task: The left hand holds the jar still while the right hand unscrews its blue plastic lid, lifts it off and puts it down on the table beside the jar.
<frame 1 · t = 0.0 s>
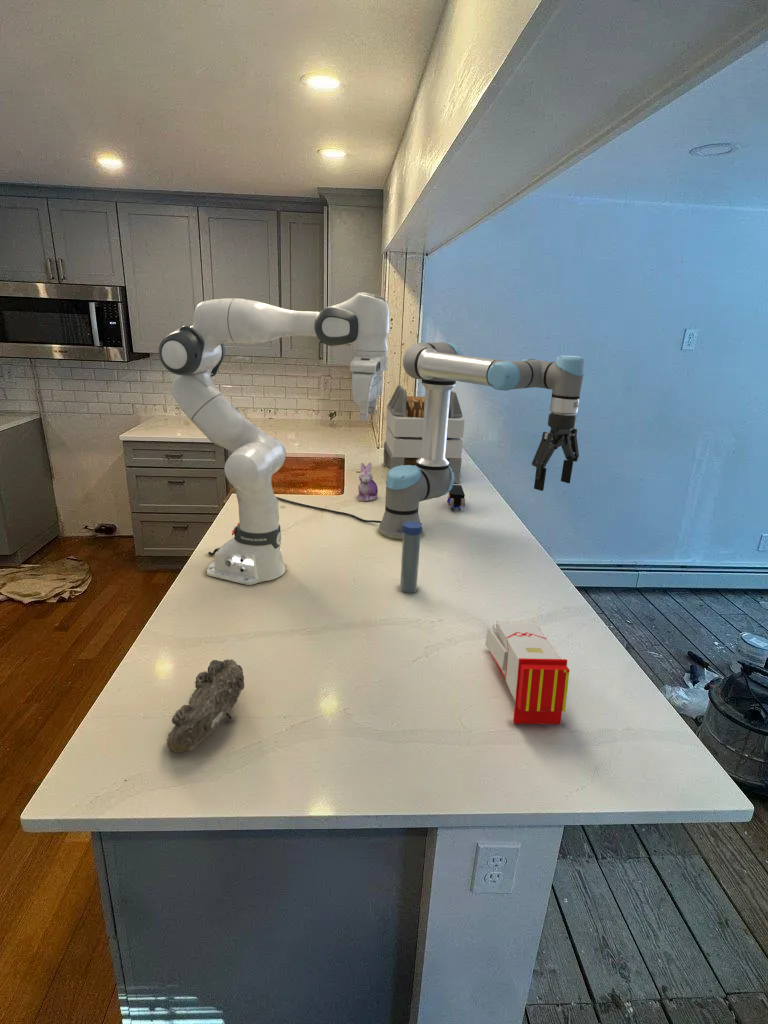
left hand: (368, 417, 147), 48 cm above the counter, tool pointing down, fingers open, 8 cm apart
right hand: (552, 485, 166), 28 cm above the counter, tool pointing down, fingers open, 13 cm apart
lid: (412, 525, 154), point 19 cm above the counter, screwed on, not yet turned
transformer: (419, 473, 275), on the counter
toy: (518, 681, 123), on the counter
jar: (408, 589, 161), on the counter
figurine: (367, 498, 235), on the counter
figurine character: (454, 506, 230), on the counter
fossil: (212, 717, 108), on the counter
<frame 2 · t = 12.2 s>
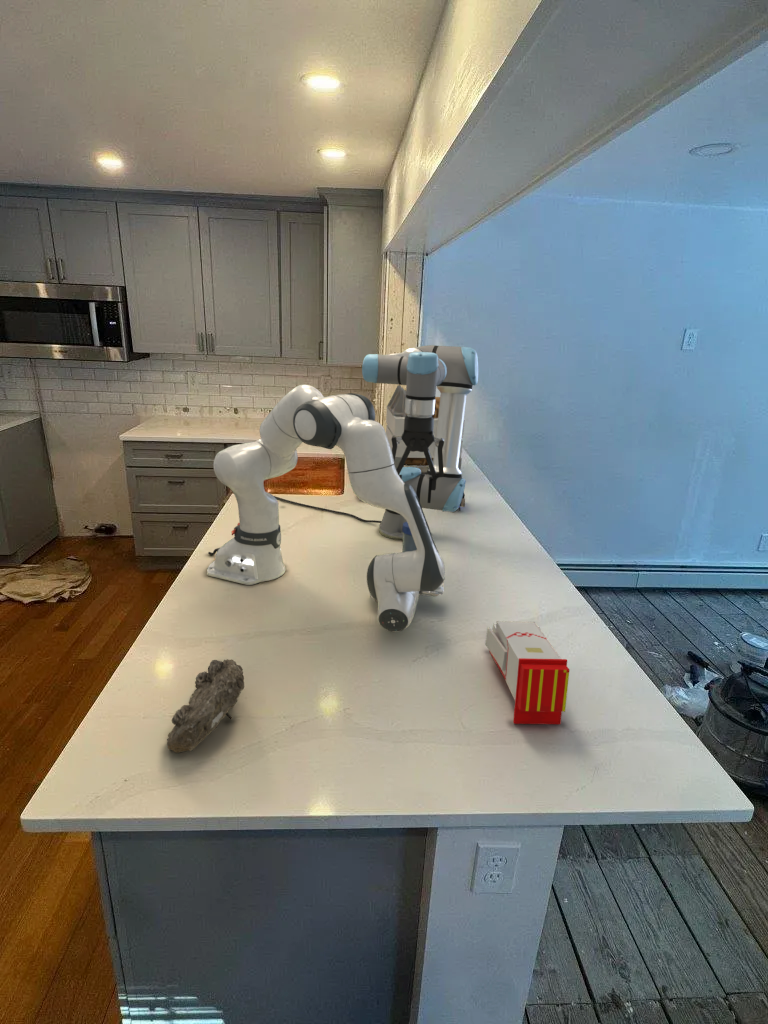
left hand: (409, 568, 160), 6 cm above the counter, tool horizontal, fingers closed on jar, 5 cm apart
right hand: (413, 500, 152), 27 cm above the counter, tool pointing down, fingers open, 7 cm apart
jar: (408, 589, 161), on the counter, touching left hand
everything else where it was.
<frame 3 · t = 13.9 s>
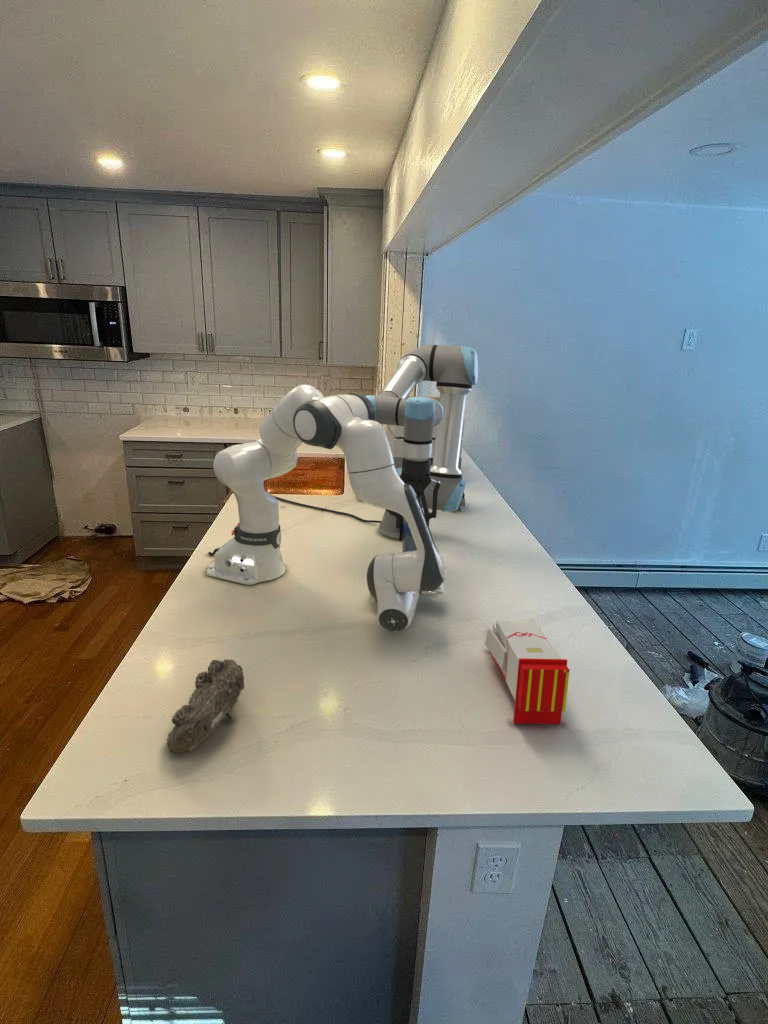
left hand: (409, 568, 160), 6 cm above the counter, tool horizontal, fingers closed on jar, 5 cm apart
right hand: (411, 539, 156), 15 cm above the counter, tool pointing down, fingers closed on lid, 5 cm apart
lid: (412, 525, 154), point 19 cm above the counter, screwed on, not yet turned, touching right hand
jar: (408, 589, 161), on the counter, touching left hand
everything else where it was.
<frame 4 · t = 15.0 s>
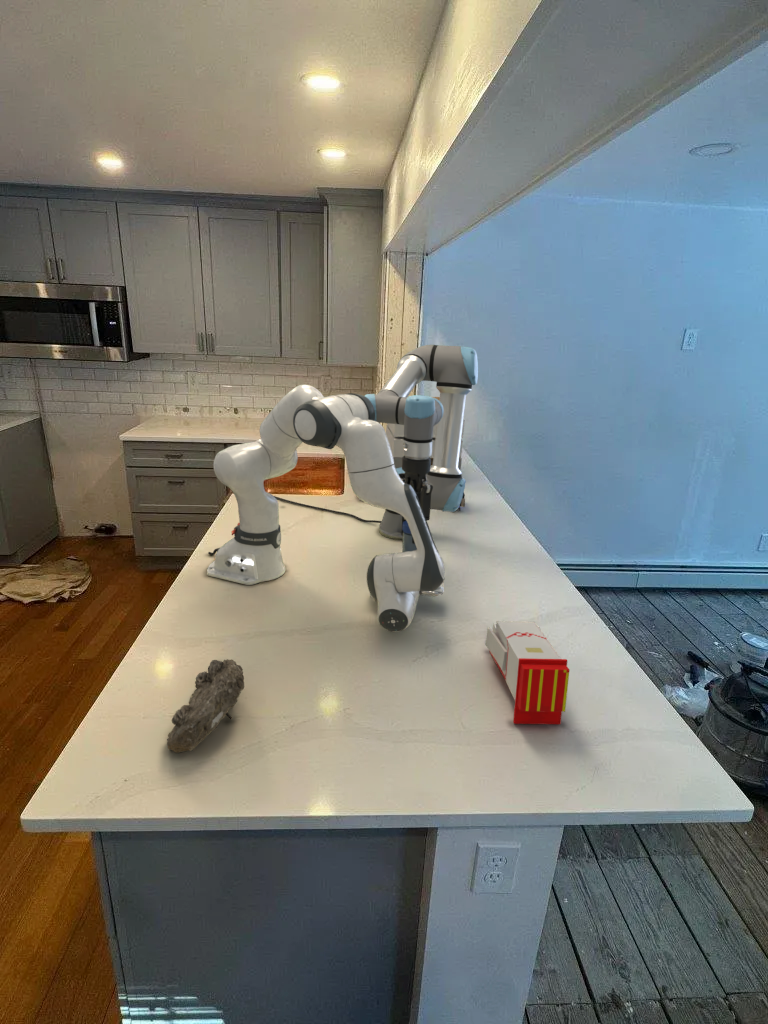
left hand: (409, 568, 160), 6 cm above the counter, tool horizontal, fingers closed on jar, 5 cm apart
right hand: (411, 538, 156), 16 cm above the counter, tool pointing down, fingers closed on lid, 5 cm apart
lid: (412, 524, 154), point 20 cm above the counter, off its thread, touching right hand
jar: (408, 589, 161), on the counter, touching left hand
everything else where it was.
when the right hand's fingers open (0 cm above the counter, at t = 20.8 s): lid drops 3 cm, point 2 cm above the counter.
when the left hand's fingers open (6 cm above the counter, at t = 21.4 s): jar stays where it is, on the counter.
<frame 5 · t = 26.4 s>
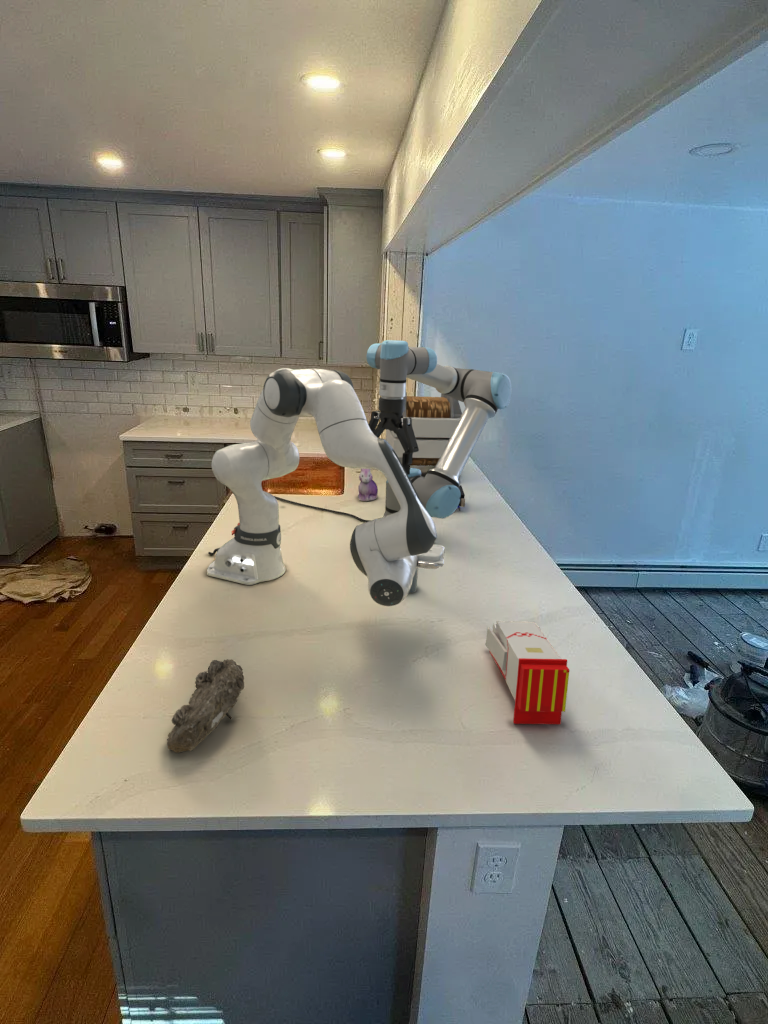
left hand: (406, 540, 144), 20 cm above the counter, tool horizontal, fingers open, 8 cm apart
right hand: (388, 469, 168), 30 cm above the counter, tool pointing down, fingers open, 13 cm apart
lid: (383, 557, 177), point 2 cm above the counter, off its thread
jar: (408, 589, 161), on the counter
everything else where it was.
at the end: lid came off its thread; lid point 1.7 cm above the counter; the left hand is holding nothing; the right hand is holding nothing; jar tilted 0°; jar moved 0.0 cm from its start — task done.
